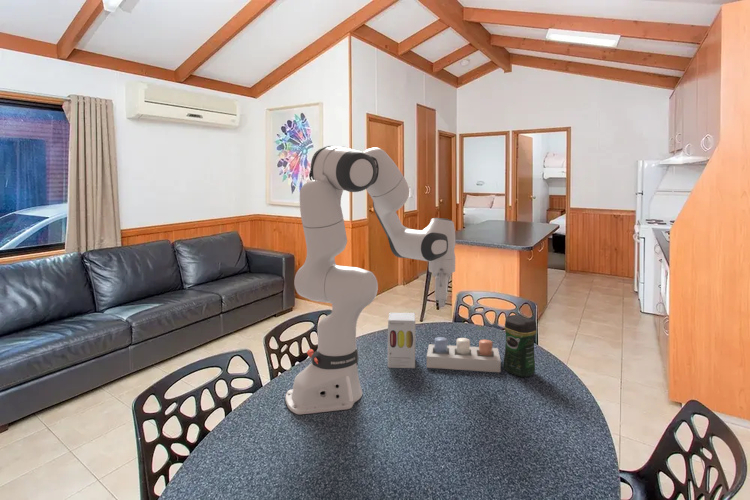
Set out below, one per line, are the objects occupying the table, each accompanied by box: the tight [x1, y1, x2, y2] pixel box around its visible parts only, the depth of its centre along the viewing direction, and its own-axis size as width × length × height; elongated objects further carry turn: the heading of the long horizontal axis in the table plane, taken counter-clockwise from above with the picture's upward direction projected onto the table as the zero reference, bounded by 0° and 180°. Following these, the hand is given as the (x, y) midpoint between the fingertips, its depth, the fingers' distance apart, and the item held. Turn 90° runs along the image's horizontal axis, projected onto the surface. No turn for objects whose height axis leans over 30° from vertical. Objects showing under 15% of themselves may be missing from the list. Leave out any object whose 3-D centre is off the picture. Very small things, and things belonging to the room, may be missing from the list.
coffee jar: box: [502, 314, 538, 378], centre depth 142 cm, size 10×8×19 cm
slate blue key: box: [433, 336, 448, 353], centre depth 151 cm, size 4×4×4 cm
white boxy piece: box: [426, 343, 502, 373], centre depth 150 cm, size 24×11×4 cm, turn 79°
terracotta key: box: [478, 339, 494, 356], centre depth 148 cm, size 4×4×4 cm
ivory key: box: [456, 337, 471, 354], centre depth 150 cm, size 4×4×4 cm
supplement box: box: [387, 312, 416, 369], centre depth 151 cm, size 10×9×17 cm
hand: (441, 305), depth 149 cm, fingers closed
